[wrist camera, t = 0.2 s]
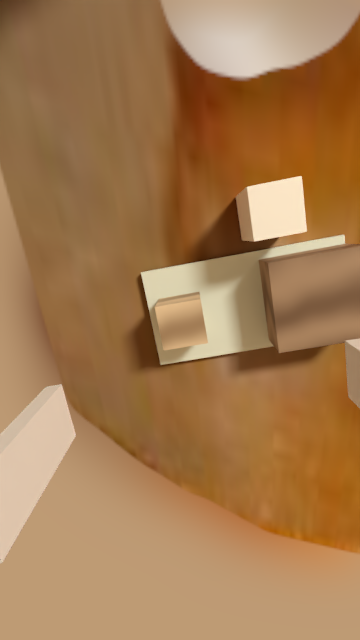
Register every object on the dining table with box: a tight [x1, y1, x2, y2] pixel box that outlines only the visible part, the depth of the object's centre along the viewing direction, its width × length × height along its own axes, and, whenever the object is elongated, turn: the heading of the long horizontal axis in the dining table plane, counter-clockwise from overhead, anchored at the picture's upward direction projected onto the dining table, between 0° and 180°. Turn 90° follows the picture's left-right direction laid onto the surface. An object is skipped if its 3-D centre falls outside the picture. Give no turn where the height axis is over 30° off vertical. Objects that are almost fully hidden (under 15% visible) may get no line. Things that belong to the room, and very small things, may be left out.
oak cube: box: [155, 292, 208, 350], centre depth 39 cm, size 5×5×5 cm
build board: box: [141, 235, 345, 365], centre depth 41 cm, size 12×24×1 cm, turn 101°
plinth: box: [259, 244, 360, 353], centre depth 38 cm, size 10×10×5 cm
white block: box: [236, 176, 307, 242], centre depth 35 cm, size 5×5×8 cm
